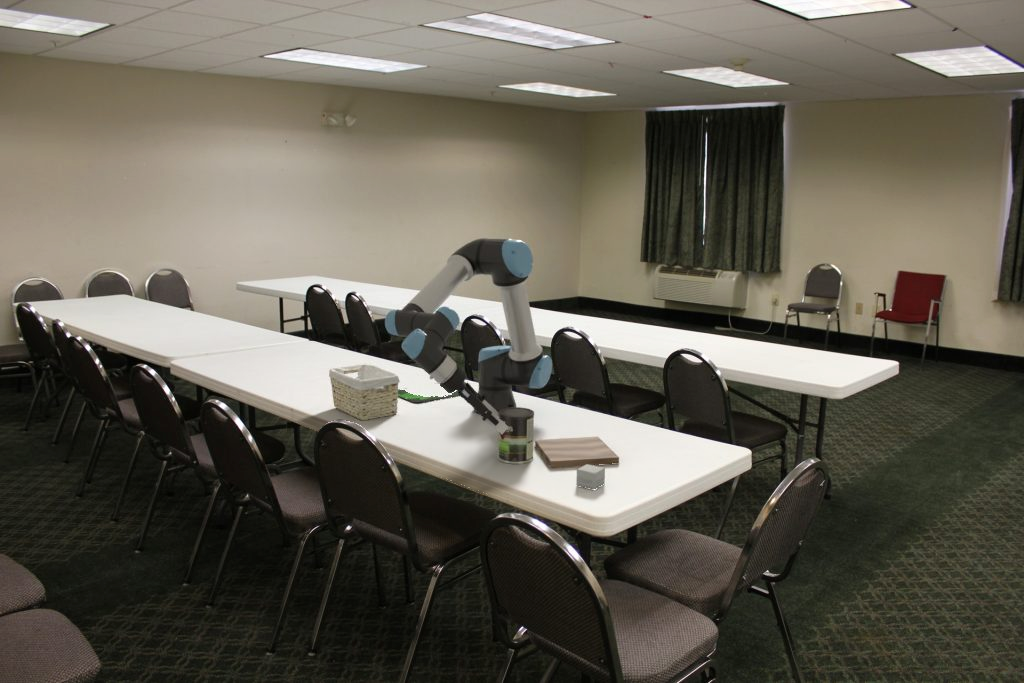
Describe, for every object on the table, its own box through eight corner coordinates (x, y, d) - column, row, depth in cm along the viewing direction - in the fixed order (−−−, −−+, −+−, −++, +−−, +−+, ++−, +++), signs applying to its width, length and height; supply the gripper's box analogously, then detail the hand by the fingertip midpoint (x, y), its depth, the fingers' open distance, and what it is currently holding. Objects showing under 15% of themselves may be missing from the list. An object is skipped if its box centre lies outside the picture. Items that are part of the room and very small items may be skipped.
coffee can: (512, 466, 223) (512, 418, 220) (491, 457, 231) (491, 410, 228) (540, 459, 229) (541, 412, 226) (519, 450, 237) (519, 405, 234)
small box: (605, 485, 209) (605, 467, 208) (594, 491, 205) (595, 473, 204) (586, 480, 212) (586, 463, 212) (575, 486, 208) (576, 469, 207)
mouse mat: (443, 383, 323) (443, 381, 322) (475, 393, 306) (476, 391, 306) (385, 393, 305) (385, 391, 305) (416, 405, 289) (416, 402, 289)
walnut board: (535, 446, 241) (535, 440, 241) (597, 442, 245) (598, 436, 244) (551, 468, 222) (551, 461, 221) (618, 463, 226) (619, 457, 225)
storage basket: (402, 415, 275) (401, 373, 272) (360, 423, 265) (358, 380, 262) (368, 401, 293) (367, 362, 290) (328, 408, 283) (327, 368, 280)
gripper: (434, 374, 233) (484, 421, 238) (443, 394, 209) (499, 446, 214) (452, 356, 233) (502, 403, 238) (463, 374, 209) (518, 426, 214)
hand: (500, 424), depth 226 cm, fingers open, 13 cm apart
